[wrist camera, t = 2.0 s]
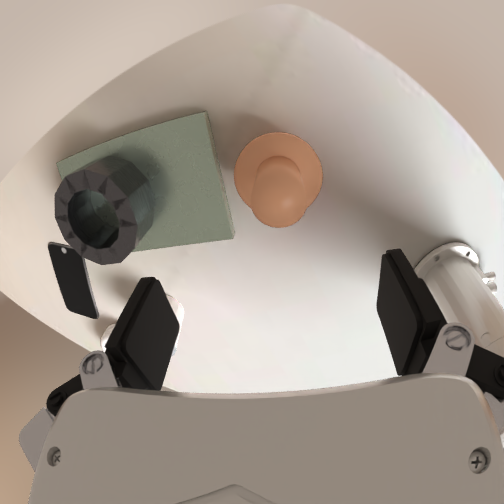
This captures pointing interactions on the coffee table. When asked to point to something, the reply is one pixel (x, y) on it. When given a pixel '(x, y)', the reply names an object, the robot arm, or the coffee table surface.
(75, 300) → the smartphone
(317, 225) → the coffee table surface
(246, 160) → the cap
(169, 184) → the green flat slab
